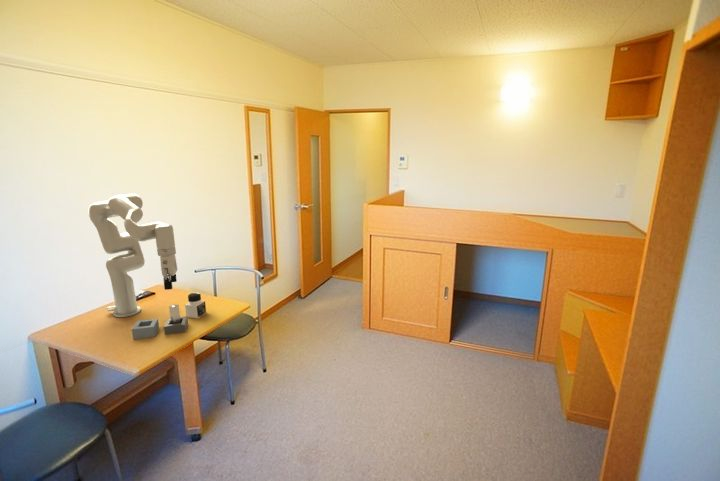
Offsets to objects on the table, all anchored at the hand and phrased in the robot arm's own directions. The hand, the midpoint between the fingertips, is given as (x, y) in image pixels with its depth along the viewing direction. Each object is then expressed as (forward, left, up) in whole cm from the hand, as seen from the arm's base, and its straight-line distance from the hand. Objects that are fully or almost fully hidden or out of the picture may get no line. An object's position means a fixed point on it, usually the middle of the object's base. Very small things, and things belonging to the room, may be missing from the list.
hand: (170, 285), depth 173 cm
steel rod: (0, -1, -22) cm, 22 cm away
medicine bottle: (+7, +13, -23) cm, 27 cm away
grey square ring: (0, -1, -22) cm, 22 cm away
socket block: (-13, -2, -22) cm, 26 cm away
